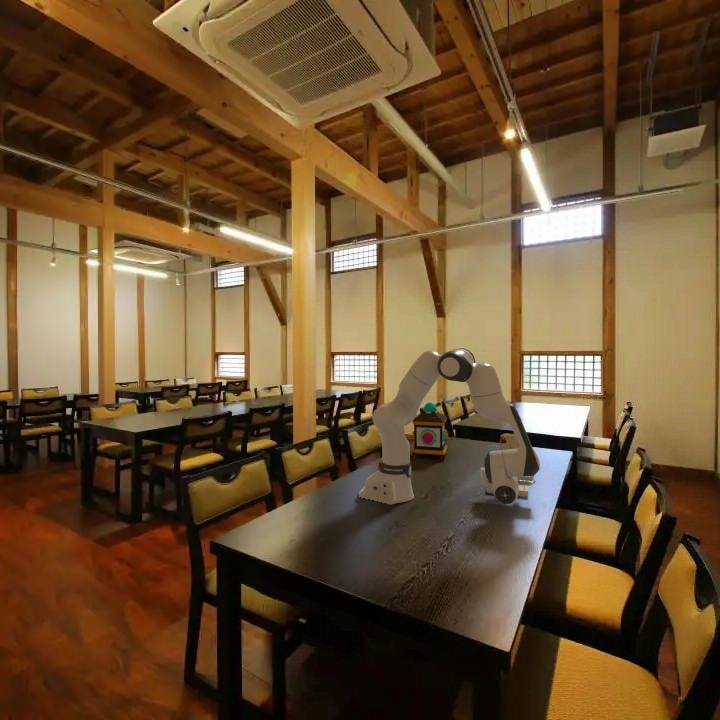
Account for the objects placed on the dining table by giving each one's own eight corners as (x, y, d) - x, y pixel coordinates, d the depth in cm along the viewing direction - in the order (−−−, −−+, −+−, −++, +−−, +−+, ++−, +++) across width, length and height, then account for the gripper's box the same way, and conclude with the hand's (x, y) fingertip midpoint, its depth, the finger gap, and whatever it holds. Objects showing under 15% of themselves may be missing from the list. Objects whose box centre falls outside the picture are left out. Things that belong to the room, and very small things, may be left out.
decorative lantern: (415, 450, 237) (415, 399, 236) (450, 452, 231) (449, 400, 230) (409, 459, 218) (408, 404, 217) (446, 462, 212) (446, 405, 211)
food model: (498, 476, 188) (498, 433, 187) (500, 472, 194) (500, 431, 193) (521, 479, 184) (521, 435, 183) (522, 475, 190) (522, 432, 189)
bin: (486, 492, 168) (486, 486, 168) (488, 480, 183) (488, 475, 183) (528, 497, 162) (528, 491, 162) (527, 484, 177) (527, 478, 177)
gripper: (535, 475, 150) (534, 464, 163) (478, 470, 158) (481, 460, 171) (535, 492, 151) (534, 480, 163) (478, 486, 158) (481, 475, 171)
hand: (506, 470), depth 167 cm, fingers open, 8 cm apart
